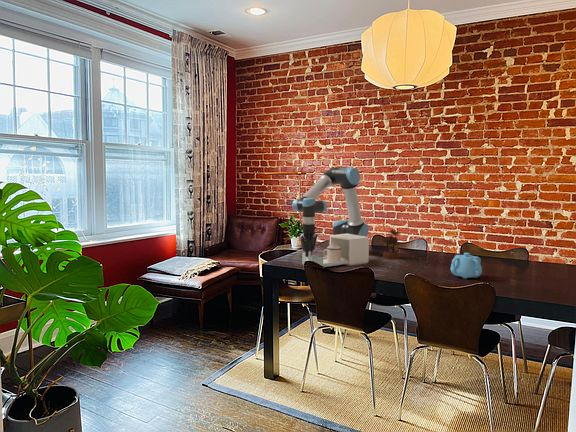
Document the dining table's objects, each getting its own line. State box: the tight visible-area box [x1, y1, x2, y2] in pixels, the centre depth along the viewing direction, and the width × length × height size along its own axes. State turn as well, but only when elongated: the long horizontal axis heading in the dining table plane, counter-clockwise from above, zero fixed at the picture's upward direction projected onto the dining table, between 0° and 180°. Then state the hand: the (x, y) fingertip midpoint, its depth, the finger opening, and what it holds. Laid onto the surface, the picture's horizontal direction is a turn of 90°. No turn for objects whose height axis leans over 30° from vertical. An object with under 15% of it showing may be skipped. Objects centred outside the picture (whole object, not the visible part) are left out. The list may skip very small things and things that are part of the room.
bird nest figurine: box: [381, 228, 401, 260], centre depth 296 cm, size 15×11×20 cm
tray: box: [301, 252, 349, 268], centre depth 272 cm, size 19×24×7 cm
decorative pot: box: [450, 252, 483, 280], centre depth 243 cm, size 16×16×14 cm
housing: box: [329, 234, 370, 267], centre depth 282 cm, size 20×16×17 cm
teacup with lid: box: [323, 243, 341, 262], centre depth 273 cm, size 12×9×12 cm
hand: (308, 261), depth 263 cm, fingers closed
